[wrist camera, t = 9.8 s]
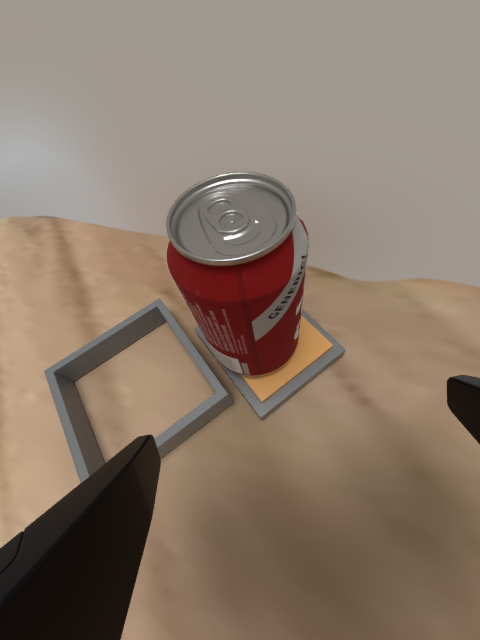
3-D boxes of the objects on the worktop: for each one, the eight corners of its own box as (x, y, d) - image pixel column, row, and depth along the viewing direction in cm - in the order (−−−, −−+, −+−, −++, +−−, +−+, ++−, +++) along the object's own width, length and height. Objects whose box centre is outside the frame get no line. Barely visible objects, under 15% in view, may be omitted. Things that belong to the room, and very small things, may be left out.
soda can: (240, 397, 20) (193, 306, 9) (198, 329, 23) (130, 205, 13) (316, 348, 21) (349, 217, 10) (266, 289, 24) (253, 146, 14)
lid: (343, 354, 22) (347, 346, 20) (261, 420, 20) (259, 416, 19) (269, 285, 26) (268, 274, 25) (197, 334, 25) (192, 325, 23)
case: (233, 402, 21) (228, 394, 19) (108, 499, 19) (86, 501, 17) (169, 313, 26) (159, 298, 24) (65, 380, 24) (44, 370, 22)
